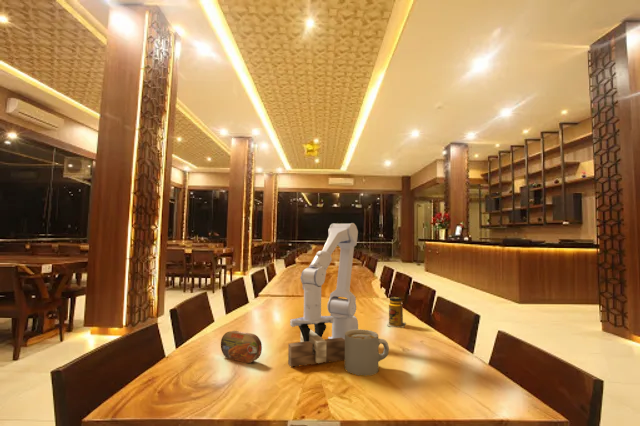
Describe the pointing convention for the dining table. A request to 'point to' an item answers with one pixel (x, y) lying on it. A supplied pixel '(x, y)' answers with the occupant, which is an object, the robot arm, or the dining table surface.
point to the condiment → (396, 312)
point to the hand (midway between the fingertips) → (311, 346)
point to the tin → (241, 346)
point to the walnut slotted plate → (304, 355)
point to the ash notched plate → (317, 346)
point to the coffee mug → (363, 352)
